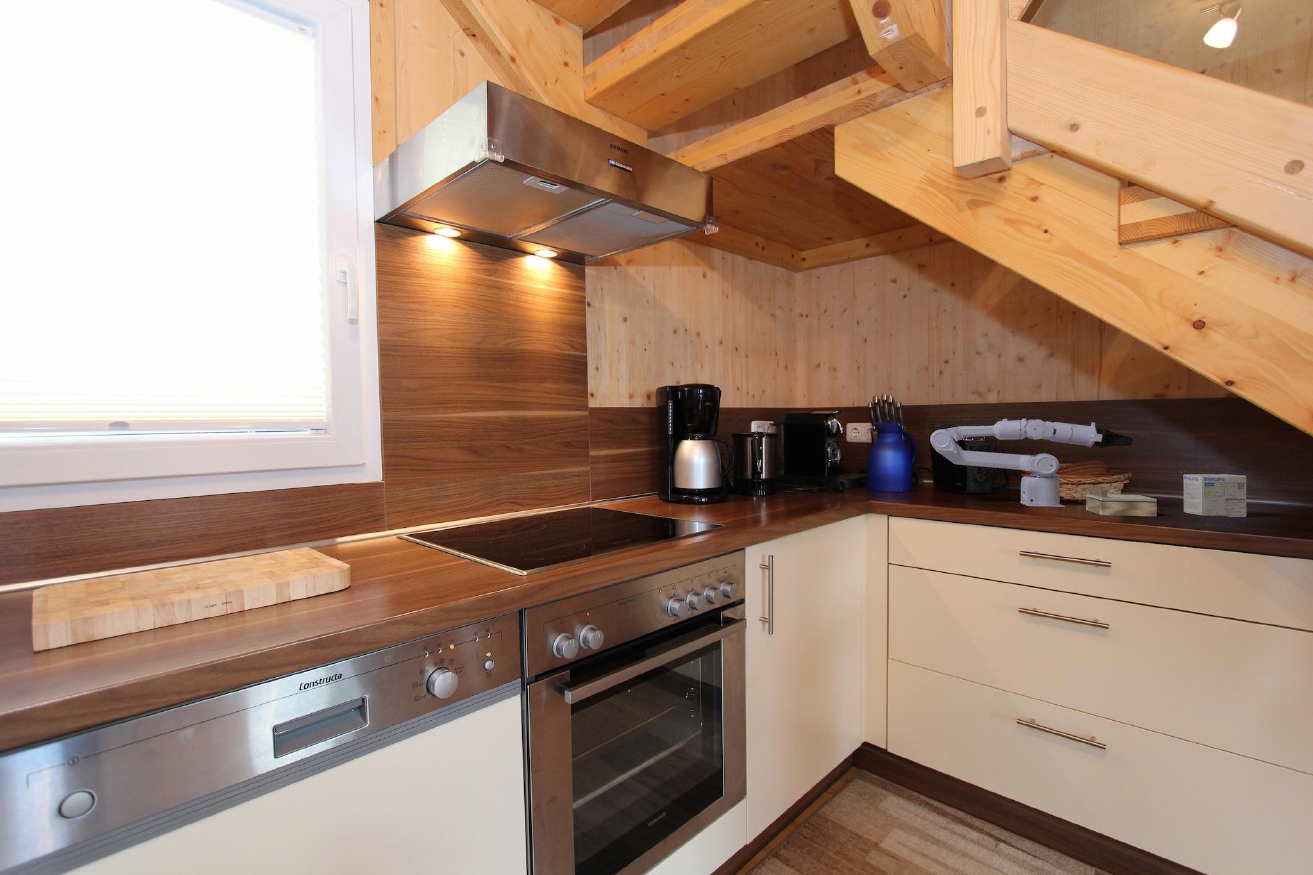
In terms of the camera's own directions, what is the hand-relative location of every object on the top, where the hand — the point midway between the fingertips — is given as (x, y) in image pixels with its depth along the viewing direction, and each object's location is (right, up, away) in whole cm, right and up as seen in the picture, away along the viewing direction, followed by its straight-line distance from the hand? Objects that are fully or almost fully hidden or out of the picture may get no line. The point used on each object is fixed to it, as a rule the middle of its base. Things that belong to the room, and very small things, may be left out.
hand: (1129, 441), depth 166 cm
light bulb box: (+13, -20, -12) cm, 26 cm away
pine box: (-9, -20, -8) cm, 23 cm away
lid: (-9, -15, -8) cm, 20 cm away
